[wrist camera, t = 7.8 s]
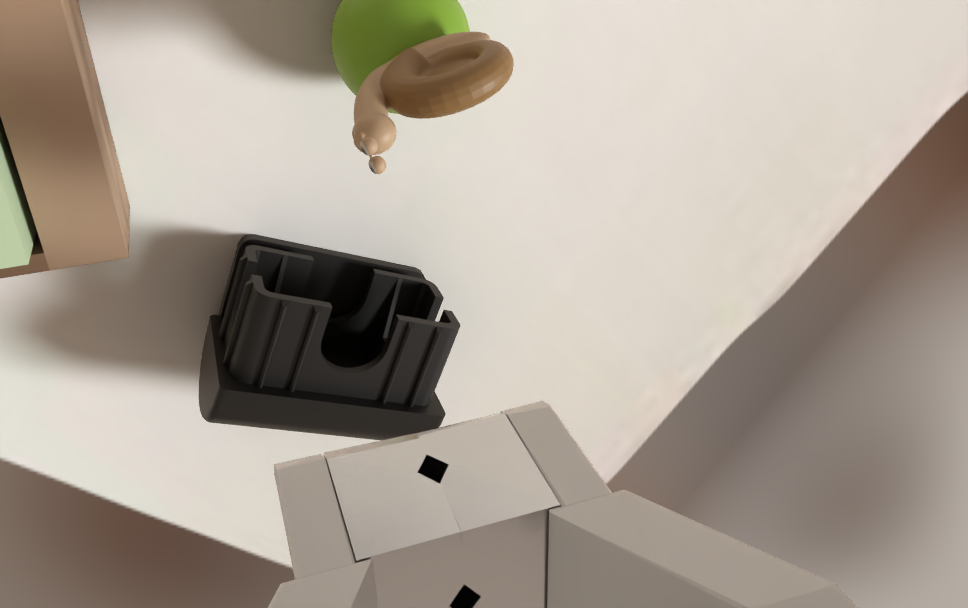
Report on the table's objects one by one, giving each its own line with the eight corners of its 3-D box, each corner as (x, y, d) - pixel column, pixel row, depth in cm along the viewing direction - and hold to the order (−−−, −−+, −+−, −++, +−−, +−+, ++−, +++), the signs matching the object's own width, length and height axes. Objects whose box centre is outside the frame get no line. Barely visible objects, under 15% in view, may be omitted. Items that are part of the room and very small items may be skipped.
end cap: (193, 363, 40) (201, 451, 35) (230, 228, 38) (245, 300, 32) (389, 389, 45) (424, 471, 39) (434, 270, 42) (478, 340, 37)
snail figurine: (275, 1, 34) (329, 79, 24) (421, -63, 35) (531, -12, 25) (331, 122, 37) (399, 236, 27) (464, 61, 38) (578, 151, 28)
